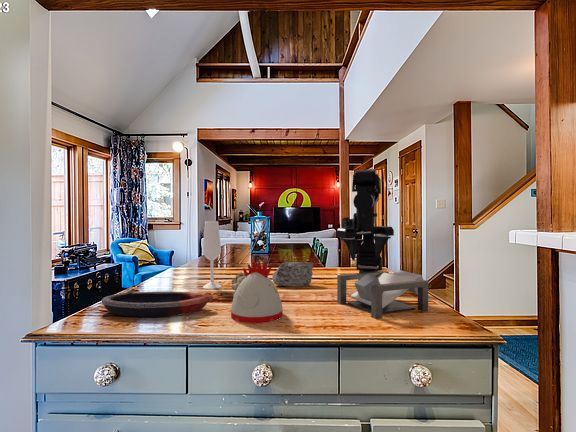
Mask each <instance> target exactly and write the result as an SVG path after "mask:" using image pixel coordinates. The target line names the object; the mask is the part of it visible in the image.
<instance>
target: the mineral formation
mask: <svg viewBox="0 0 576 432" xmlns="http://www.w3.org/2000/svg"><path fill="white" fill-rule="evenodd" d="M245 277H246V276H245V274H244V272H241V271H240V272H237V274H236V275H235V278H232V280H231V281H230V282H231V285H232V287H231V290H233V291H235V292H236V290H237V288H238V286H239V284H240V283H241V282H242V280H243V279H244V278H245ZM235 292H233V294H232V297H233V298H234V295H235Z"/></svg>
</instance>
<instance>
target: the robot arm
mask: <svg viewBox="0 0 576 432" xmlns="http://www.w3.org/2000/svg"><path fill="white" fill-rule="evenodd" d="M376 171H377V170H376V169H375V168H372V169H371V168H370V169H368V168H367V169H361V170H355V172H354V173H353V175H352V185H351V193H356V194H355V196H354V198H353V207H355V210H356V211H355V212H354V213H353V218H349V217H342V218H341V223H340V224H341V227H338V228H337V230H336V232H335V237H336V238H339V240H341V241H342V242H344V243H345V245H346V247H347V250H348V252H349V255H350V258H351V260H352V261H356V263H355V265H356V271H358V273H365V272H376V271H383V258H382V257H383V256H382V255H381V254H382V251H383V250H384V248H385V246H386V244H387V242H388V241H389V239H391V237H392V236H395V230H394V228H393V227H392V226H387V225H376V226H375V218H376V217H378V213H376V209H375V208H376V204H377V203H378V202H379V200H380V195H381V194H382V180H381V178H380V176H379V174H378V173H376ZM357 236H362V242H361V244H359V246H357V245H358V238H356V237H357ZM357 247H358V248H357ZM357 249H358V251H357ZM381 256H382V257H381ZM358 280H360V279H357V281H358Z"/></svg>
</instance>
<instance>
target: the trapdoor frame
mask: <svg viewBox="0 0 576 432" xmlns="http://www.w3.org/2000/svg"><path fill="white" fill-rule="evenodd" d="M383 273H388V274H390V271H387V270H380V271H376V272H365V273H359V272H357V273H354V272H353V273H346V274H337V275H336V277H337V278H336V282H337V283H336V286H337V288H336V289H337V290H336V291H337V292H336V298H337V299H336V301H337V302H336V303H337V304H339V305H344V304H347V305H349V306H352V307H354V308H356V309H359V310H361V311H364V312H367V313H369V314H370V315H371V316H370V317H371V318H373V319H375V320H379V319H383V315H389V314H395V313H402V312H409V311H416V309H417V311H420V312H422V313H425V312H428V311H429V280H425V279H423V280H416V281H407V282H398V283H388V284H379V285H371V305H368V304H366V303H363V302H360V301H358V300H354V301H347V281H354V280H355V281H358V279H361V278H363V277H364V276H366V275H370V276H374V277H378V276H380V275H381V274H383ZM410 288H418V293H417V307H415V306H412V305H409V304H406V303H404V302H401V301H398V300H396V299H395V300H393V301H392V302H390V303H389V304H388V305H386V306H385V307H383V308H382V292H384V291H393V290H401V289H410Z"/></svg>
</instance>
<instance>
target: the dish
mask: <svg viewBox="0 0 576 432" xmlns="http://www.w3.org/2000/svg"><path fill="white" fill-rule="evenodd" d="M213 300H214V297H213V295H212V294H205V293H199V292H192V291H190V292H189V291H139V292H138V291H136V292H135V291H133V290H127V291H126V292H124V293H117V294H112V295H108V296H105V297H103V298H102V299H101V303H102V304H103V307H104V309H105V310H107V312H109V313H110V314H115V315H118V316H124V317H125V316H126V317H134V318H135V317H137V318H139V317H140V318H155V317H157V318H158V317H161V318H162V317H174V316H175V317H176V316H182V315H187V314H192V313H195V312H198V311H200V310H202V309H204V308H205V307H206V306H207V304H208V302H213Z"/></svg>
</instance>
